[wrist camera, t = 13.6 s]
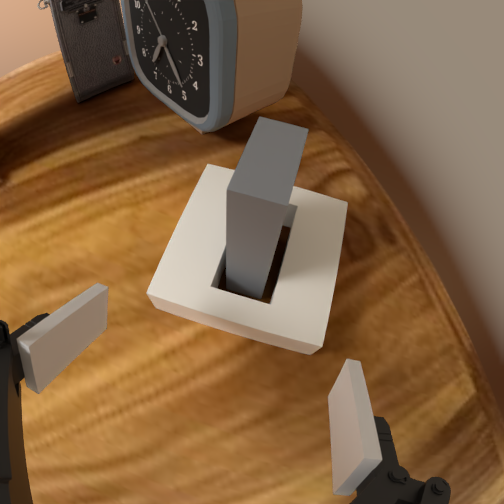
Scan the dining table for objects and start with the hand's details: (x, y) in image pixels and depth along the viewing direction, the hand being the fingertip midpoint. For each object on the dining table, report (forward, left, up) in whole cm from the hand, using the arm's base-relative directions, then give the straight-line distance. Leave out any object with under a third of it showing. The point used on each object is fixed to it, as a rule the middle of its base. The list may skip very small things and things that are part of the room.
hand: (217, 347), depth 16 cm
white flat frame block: (0, +9, -9) cm, 13 cm away
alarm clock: (-13, +29, -9) cm, 33 cm away
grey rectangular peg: (0, +9, -9) cm, 13 cm away
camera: (-34, +33, -9) cm, 48 cm away
